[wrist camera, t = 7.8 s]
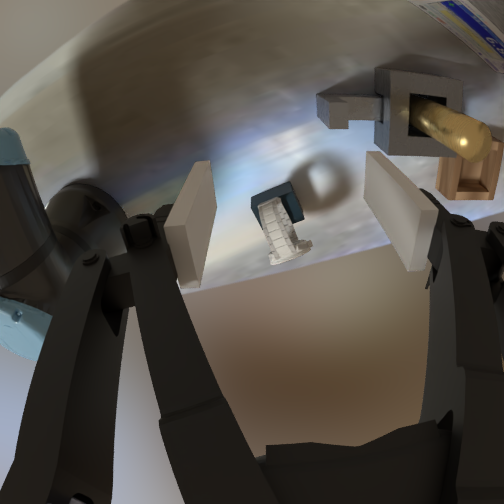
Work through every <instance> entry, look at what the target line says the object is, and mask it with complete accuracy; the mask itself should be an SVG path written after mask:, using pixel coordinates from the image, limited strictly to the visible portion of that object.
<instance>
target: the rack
mask: <svg viewBox="0 0 504 504" xmlns="http://www.w3.org/2000/svg"><path fill="white" fill-rule="evenodd" d="M503 148H504V143H503V142H501V141H500V140H498V139H496V138H494V137H492V145H491V149H490V152H489V154H488V155H487V156H486V158H485V159H483V160H482V161H480V162H477V163H472V162H469V161H468V160H466V159H465V158H463V157H462V156H460V155H459V154H457V158H450V157H440V159H439V167H438V174H437V181H436V187H435V188H436V189H437V190H438V191H439V192H440V193H441V194H442V195H443V196H445V197H446V198H447V199H448V200H493V199H494V195H495V190H496V186H497V181H498V176H499V171H500V166H501V160H502V155H503Z"/></svg>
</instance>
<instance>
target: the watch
mask: <svg viewBox="0 0 504 504" xmlns="http://www.w3.org/2000/svg"><path fill="white" fill-rule="evenodd" d="M251 209H252V211H253V213H254V215H255V217H256V218H257V220H258V222H259V224H260V226H261V228H262V230H263V231H264V234H265V237H266V236H267V237H266V239H267V242H268V244H269V246H270V249H271V251H272V252H270V253H269V259H270V261H271V265H276V264H280V263H284V262H287V261H290V260H292V259H295V258H297V257H299V256H301V255H303V254H305V253H307V252H309V251H310V250H311V249H310V247H312V246H313V245H312V242H311V240H309V241H306V240H298V237H297V235H296V232H295V229H294V227H293V224H294V223H297V222H299V221H302V220H304V219H305V218H304V215H303V211H302V208H301V205H300V203H299V201H298V199H297V196H296V194H295V192H294V190H293V187H292V185H291V183H290V181H289V182H287V183H284V184H282V185H279V186H277V187H274V188H272V189H270V190H267V191H265V192H262V193H260V194H258V195H255V196H253V197H251ZM289 226H290V227H289ZM289 231H290V232H289ZM269 235H270V236H269ZM275 239H276V240H275ZM307 242H308V243H307Z"/></svg>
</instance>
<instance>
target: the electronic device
mask: <svg viewBox="0 0 504 504" xmlns="http://www.w3.org/2000/svg"><path fill="white" fill-rule="evenodd" d="M408 1H409V2H411V3H412V4H414V5H415V6H417V7H418V8H420V9H421V10H423V11H424V12H425V13H427V14H428V15H430V16H431V17H432V18H434V19H435V20H436V21H438V22H439V23H440V24H442V25H443V26H444V27H446V28H447V29H448V30H449V31H451V32H452V33H453V34H454V35H456V36H457V37H458V38H459V39H460V40H462V41H463V42H464V43H465V44H466V45H467V46H469V47H470V48H471V49H472V50H473V51H474V52H475V53H476V54H477V55H479V56H480V57H481V58H482V59H483V60H484V61H485V62H486V63H487V64H488V65H489V66H490V67H491V68H492V69H493V70H494V71H495V72H499V73H503V74H504V1H503V0H408Z"/></svg>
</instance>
